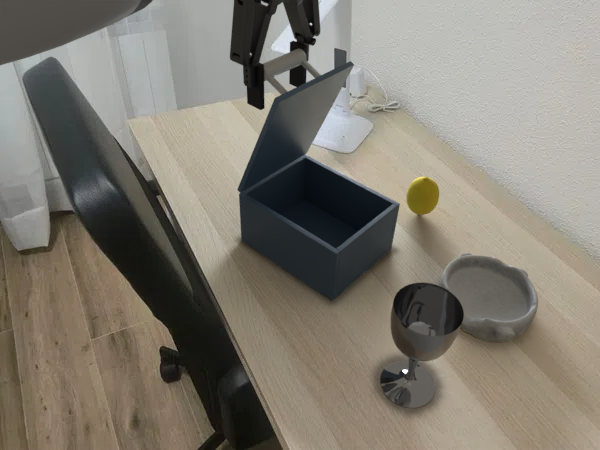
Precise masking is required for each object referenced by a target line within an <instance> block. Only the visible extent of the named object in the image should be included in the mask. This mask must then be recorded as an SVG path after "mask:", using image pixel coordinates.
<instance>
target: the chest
mask: <svg viewBox="0 0 600 450" xmlns="http://www.w3.org/2000/svg"><path fill="white" fill-rule="evenodd" d="M238 199H239V221H240V241H241V242H243V243H244V244H246V245H247V246H249V247H251V248H252V249H253V250H255V251H257V252H258V253H260V255H262V256H264V257H266V258H267V259H269V260H270V261H271V262H273V263H274V264H276V265H277V266H279V267H280V268H282V269H283V270H285V271H286V272H287V273H289V274H291V275H292V276H293V277H295V278H297V279H299V280H300V281H301V282H302V283H304V284H306V285H307V286H308V287H310V288H311V289H313V290H314V291H316V292H317V293H318V294H320V295H322V296H324V297H325V298H326V299H328V300H329V301H331V302H333V301H334V300H335V299H336V298H338V297H339V296H340V295H341V294H342V293H343V292H345V291H346V290H347V289H348V288H349V287H350V286H351V285H353V284H354V283H355V282H356V281H357V280H358V279H360V277H362V276H363V275H364V274H365V273H366V272H368V271H369V270H370V269H371V268H372V267H374V265H375V264H377V263H378V262H379V261H380V260H382V259H383V258H384V257H385V256H386V255H387V254H388V253H389V252H390V251H391V250H392V248H393V242H394V237H395V232H396V227H397V222H398V216H399V211H400V206H401V203H400V202H398V201H396V200H394V199H392V198H390V197H388V196H386V195H385V194H383V193H381V192H379V191H377V190H375V189H373V188H371V187H369V186H367V185H365V184H364V183H361V182H359V181H358V180H355V179H354V178H352V177H350V176H348V175H346V174H344V173H342V172H341V171H338V170H337V169H334V168H333V167H331V166H328V165H327V164H325V163H322V162H321V161H319V160H317V159H316V158H313V157H311V156H309V155H307V154H305V155H303V156H302V157H300V158H298V159H297V160H295V161H293V162H292V163H290V164H288V165H287V166H285V167H283V168H282V169H280V170H278V171H277V172H275V173H273V174H272V175H270V176H268V177H267V178H265V179H263V180H262V181H260V182H258V183H257V184H255V185H253V186H252V187H250V188H248V189H247V190H245V191H243V192H242V193H240V192H239V193H238Z"/></svg>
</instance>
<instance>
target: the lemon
mask: <svg viewBox="0 0 600 450" xmlns="http://www.w3.org/2000/svg"><path fill="white" fill-rule="evenodd" d="M405 198H406V199H405V200H406V205H407V207H408V209H409V210H410V211H411V212H413V214H416V215H421V216H425V215H428V214H429V213H431V212H433V211H434V210H435V209H436V207H437V205H438V203H439V200H440V188H439V185H438V183H437V181H435V180H434V179H433V178H432V177H430V176H419V177H417V178H415V179H414V180H413V181H412V182H411V183H410V184H409V186H408V188H407V190H406V197H405Z"/></svg>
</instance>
